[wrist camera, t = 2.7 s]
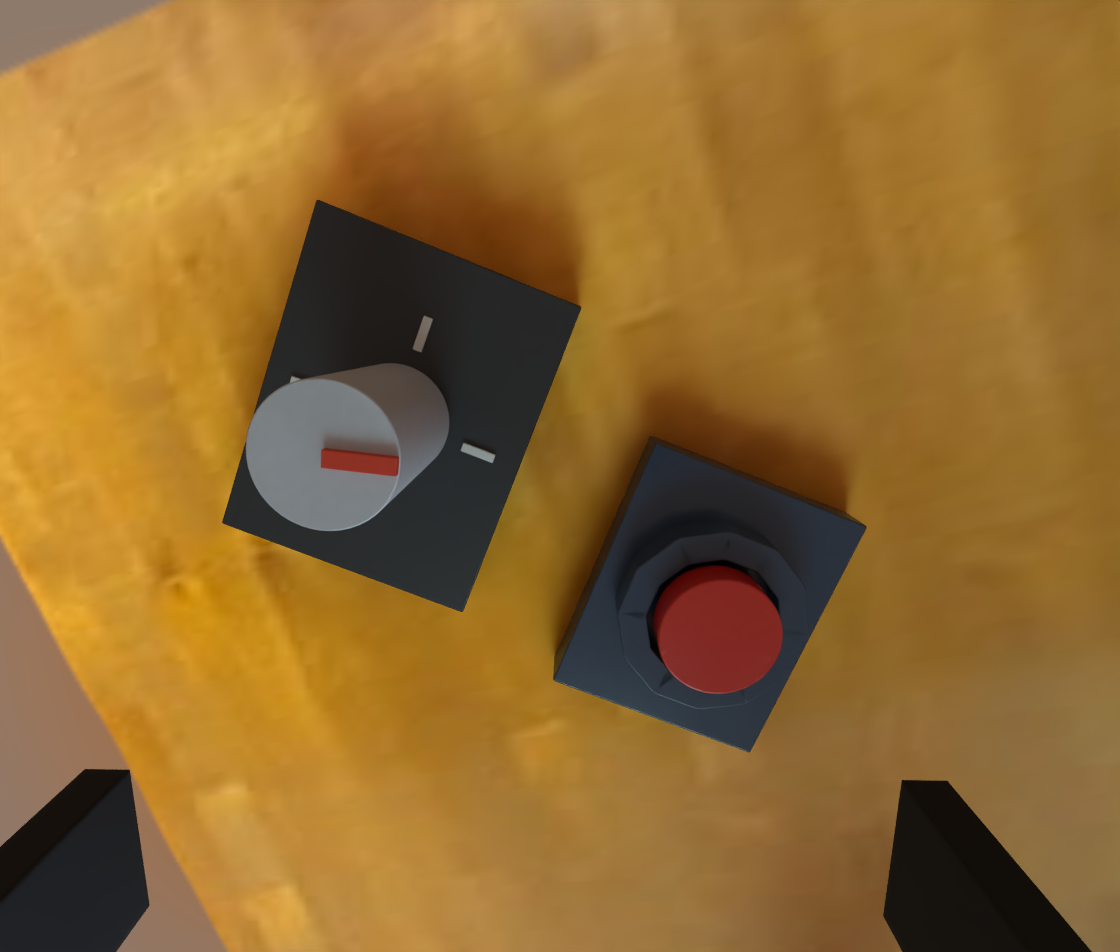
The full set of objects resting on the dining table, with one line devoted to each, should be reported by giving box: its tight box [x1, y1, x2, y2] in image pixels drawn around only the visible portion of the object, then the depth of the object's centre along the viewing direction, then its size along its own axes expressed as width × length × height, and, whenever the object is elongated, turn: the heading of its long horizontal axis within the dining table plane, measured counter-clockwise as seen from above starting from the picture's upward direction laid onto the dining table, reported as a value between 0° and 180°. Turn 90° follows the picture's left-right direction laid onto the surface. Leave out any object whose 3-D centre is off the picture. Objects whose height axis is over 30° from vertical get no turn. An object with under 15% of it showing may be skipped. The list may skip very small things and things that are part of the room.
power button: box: [653, 565, 783, 694], centre depth 28 cm, size 5×5×2 cm
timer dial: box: [246, 363, 449, 531], centre depth 23 cm, size 5×5×8 cm
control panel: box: [222, 200, 581, 612], centre depth 29 cm, size 14×11×3 cm
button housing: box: [553, 436, 866, 752], centre depth 30 cm, size 12×10×4 cm
